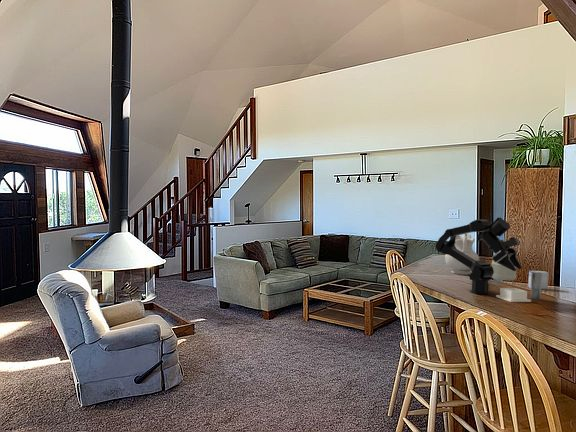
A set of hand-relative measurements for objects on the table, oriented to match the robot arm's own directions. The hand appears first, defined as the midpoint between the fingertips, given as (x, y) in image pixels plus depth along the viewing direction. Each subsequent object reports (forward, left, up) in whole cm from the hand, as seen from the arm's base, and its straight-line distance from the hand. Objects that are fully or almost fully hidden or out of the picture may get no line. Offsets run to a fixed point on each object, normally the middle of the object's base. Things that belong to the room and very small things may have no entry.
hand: (518, 269), depth 195 cm
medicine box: (+30, +25, -14) cm, 42 cm away
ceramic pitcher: (+15, +71, -13) cm, 74 cm away
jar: (+30, +53, -14) cm, 63 cm away
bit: (+9, 0, -13) cm, 16 cm away
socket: (-2, 0, -13) cm, 13 cm away
